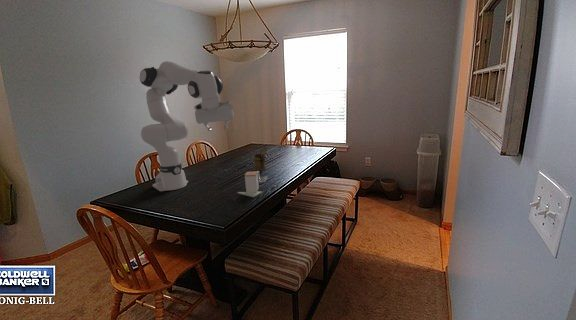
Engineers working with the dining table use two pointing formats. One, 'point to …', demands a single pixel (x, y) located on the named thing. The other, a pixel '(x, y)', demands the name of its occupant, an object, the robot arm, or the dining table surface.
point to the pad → (250, 193)
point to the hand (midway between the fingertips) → (218, 129)
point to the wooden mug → (260, 160)
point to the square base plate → (261, 178)
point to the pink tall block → (251, 181)
